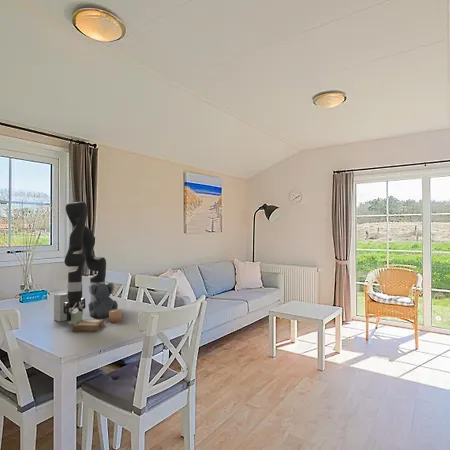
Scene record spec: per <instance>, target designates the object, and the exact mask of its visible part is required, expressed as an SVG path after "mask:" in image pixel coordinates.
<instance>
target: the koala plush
mask: <svg viewBox="0 0 450 450" xmlns="http://www.w3.org/2000/svg"><path fill="white" fill-rule="evenodd" d="M88 292H89V295H90V294H92V295H94V296H95V298H96V299H97V300H94V301H93V302H90V301H89V303H88V311H89V314H90V316H91V317H94V318H96V317H97V318H101V319H102V318H106V317H109V311H110V310H113V309H119V308H118V307H119V305H118V302H117V300H113V298H111V297H110V296H111V295H112V294H113V293H114V292H115V283H114V282H112V281H111V282H108V283H107V284H106V283H105V284H99V285H98V286H96V285H94V284H93V285H90V284H89V285H88Z"/></svg>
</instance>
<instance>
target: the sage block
mask: <svg viewBox="0 0 450 450" xmlns="http://www.w3.org/2000/svg"><path fill="white" fill-rule="evenodd" d="M80 320H83V315H82V312H81V311H79V310H73V311H72V312H71V321H67V324H68V325H75V324H76V323H78V322H79V321H80Z"/></svg>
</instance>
